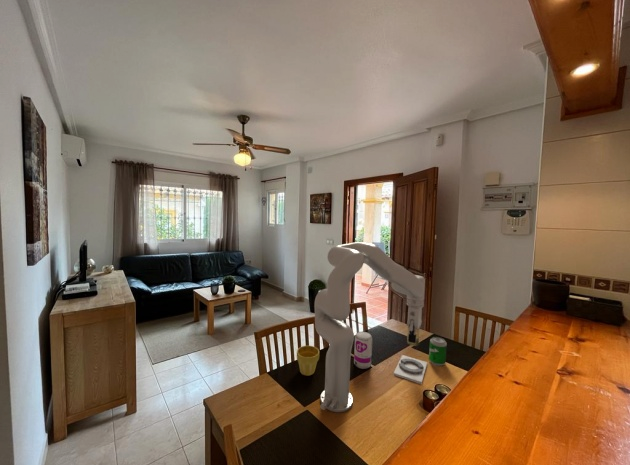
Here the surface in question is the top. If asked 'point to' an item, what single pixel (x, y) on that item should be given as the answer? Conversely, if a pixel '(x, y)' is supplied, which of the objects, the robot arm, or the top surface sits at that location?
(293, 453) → the top surface
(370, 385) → the top surface
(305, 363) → the plant pot
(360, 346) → the supplement can
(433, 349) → the soda can
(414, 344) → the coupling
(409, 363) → the socket board
